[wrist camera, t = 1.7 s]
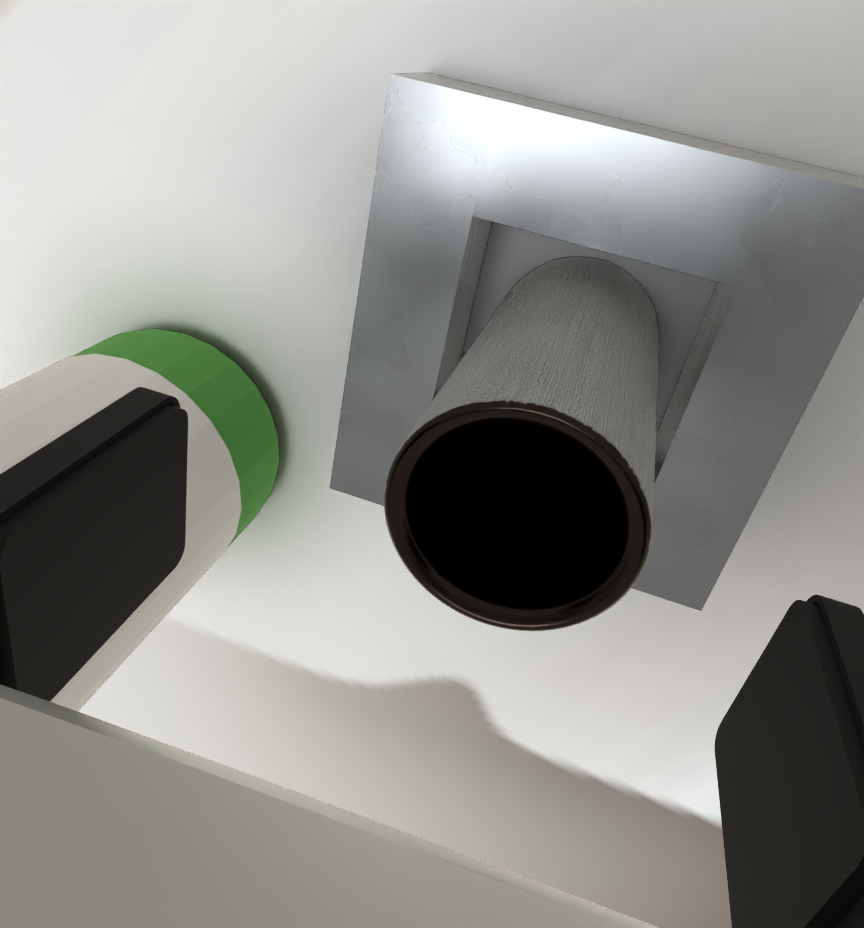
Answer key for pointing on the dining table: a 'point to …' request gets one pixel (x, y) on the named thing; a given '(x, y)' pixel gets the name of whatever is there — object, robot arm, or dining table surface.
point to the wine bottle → (208, 459)
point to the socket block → (618, 232)
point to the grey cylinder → (537, 455)
